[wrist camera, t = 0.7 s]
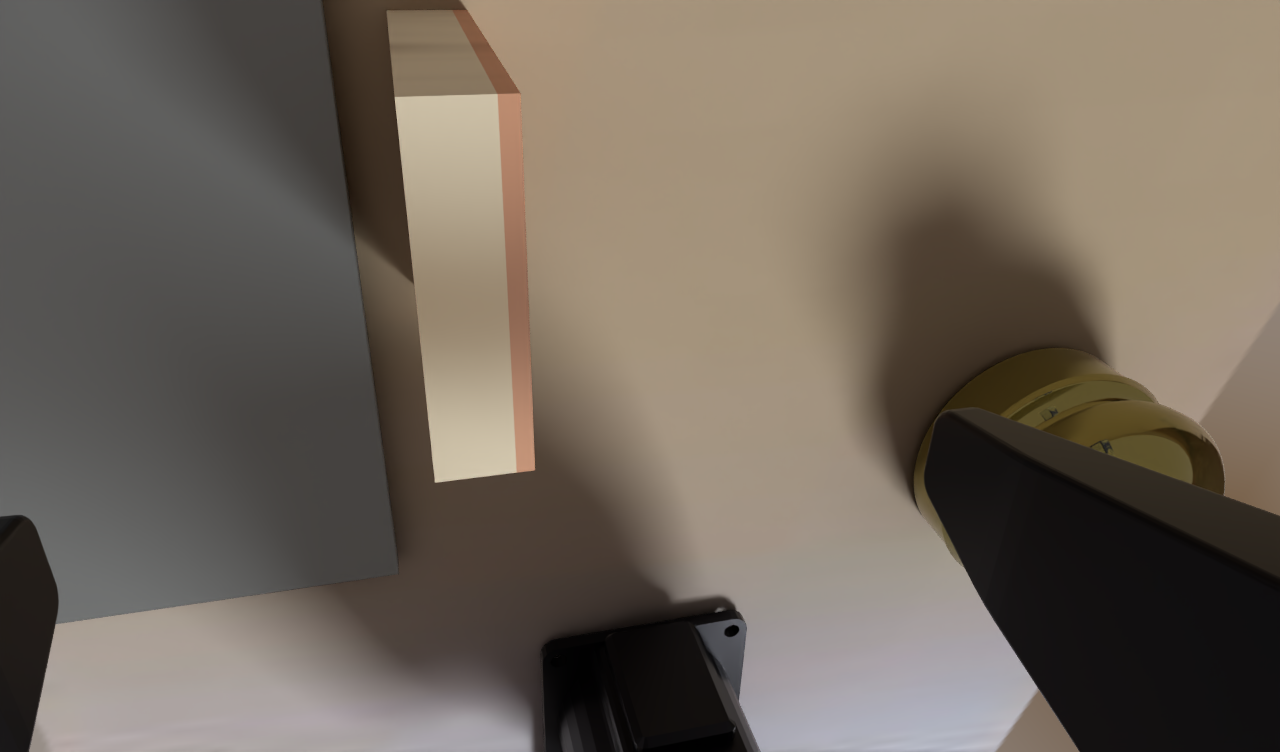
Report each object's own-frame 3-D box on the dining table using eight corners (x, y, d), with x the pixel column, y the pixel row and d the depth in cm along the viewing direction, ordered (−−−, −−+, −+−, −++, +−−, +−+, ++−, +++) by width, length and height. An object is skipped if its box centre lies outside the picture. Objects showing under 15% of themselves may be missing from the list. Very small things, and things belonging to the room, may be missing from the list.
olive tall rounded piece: (1016, 563, 31) (1252, 819, 23) (861, 501, 28) (1070, 774, 20) (1161, 391, 29) (1482, 607, 21) (1010, 303, 26) (1319, 516, 17)
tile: (484, 279, 22) (534, 470, 15) (415, 285, 21) (434, 482, 14) (467, 10, 19) (520, 93, 12) (386, 10, 18) (394, 96, 12)
